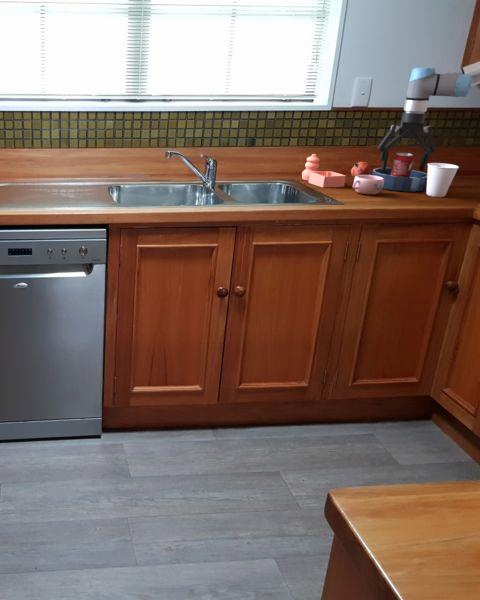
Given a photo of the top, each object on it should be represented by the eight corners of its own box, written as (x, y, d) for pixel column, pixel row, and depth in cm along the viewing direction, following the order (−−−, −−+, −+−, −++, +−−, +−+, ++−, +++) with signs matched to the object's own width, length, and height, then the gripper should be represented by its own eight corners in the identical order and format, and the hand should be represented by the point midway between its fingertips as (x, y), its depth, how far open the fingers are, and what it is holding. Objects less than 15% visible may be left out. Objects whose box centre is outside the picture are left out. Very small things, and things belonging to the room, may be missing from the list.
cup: (450, 200, 216) (458, 169, 211) (419, 196, 220) (426, 165, 216) (451, 195, 223) (459, 164, 219) (421, 191, 228) (428, 161, 224)
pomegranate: (358, 182, 250) (342, 167, 247) (372, 169, 247) (357, 153, 244) (365, 188, 244) (349, 173, 241) (380, 174, 241) (364, 159, 238)
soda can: (402, 188, 230) (410, 156, 225) (384, 185, 235) (391, 153, 230) (410, 186, 234) (417, 154, 229) (392, 182, 239) (399, 152, 234)
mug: (366, 189, 229) (370, 173, 226) (387, 195, 220) (391, 179, 218) (341, 191, 225) (344, 175, 222) (361, 197, 216) (365, 181, 214)
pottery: (343, 186, 232) (349, 160, 229) (322, 187, 230) (327, 161, 226) (315, 177, 248) (319, 152, 244) (295, 177, 246) (299, 153, 242)
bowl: (415, 183, 242) (418, 169, 240) (432, 193, 224) (436, 179, 222) (364, 180, 245) (367, 166, 242) (377, 190, 227) (381, 176, 225)
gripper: (447, 112, 225) (433, 169, 233) (375, 110, 229) (365, 166, 237) (454, 114, 218) (440, 173, 226) (381, 112, 222) (370, 170, 230)
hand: (401, 170), depth 232 cm, fingers open, 13 cm apart
